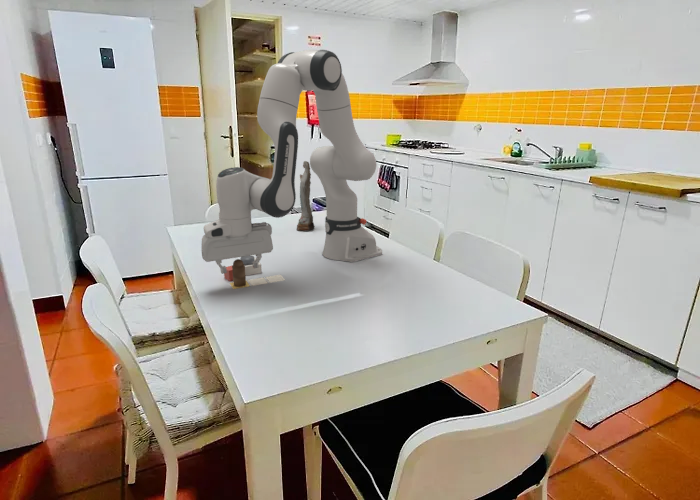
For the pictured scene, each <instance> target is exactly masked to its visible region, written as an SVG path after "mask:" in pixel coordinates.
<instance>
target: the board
mask: <svg viewBox="0 0 700 500" xmlns="http://www.w3.org/2000/svg"><path fill="white" fill-rule="evenodd" d="M277 282H286V279H285V278H284V276H282V274H277V275H270V276H265V277H258V278H251V279H247V280H246V285H245V286H242V287H235V286H234V283H233V281H231V282H229V285H231V288H232V289H233V290H236V289H237V290H238V289H242V288H248V287H253V286H254V287H255V286H259V285H267V284H271V283H277Z"/></svg>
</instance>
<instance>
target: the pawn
mask: <svg viewBox="0 0 700 500" xmlns="http://www.w3.org/2000/svg"><path fill="white" fill-rule="evenodd" d="M232 265H233V266H232ZM232 265H231V266H232V271H233V281H232V282H233V283H234V286H235V287H242V286H245V285H246V281H247V279H246V276H245V265H244V264H243V261H242V260H240V259H239V258H237V259H235V260H234V261H233V263H232Z"/></svg>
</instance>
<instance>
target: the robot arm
mask: <svg viewBox="0 0 700 500" xmlns="http://www.w3.org/2000/svg"><path fill="white" fill-rule="evenodd" d="M303 91H307V92H310V91H313V93H314V96H315V105H316V111H317V119H318V122H319V123H318V124H319V127H320V128H319V129H320V132H321V133H322V135H323V136H324V137H325V139H327V140H328V141H330V143H331V144H332V145H325V146H319V147H316V148H314V150H313V151H312V152H311V155H310V158H309V165H310V169H311V170H312V171H313V173H314V174H315V175H316V176H317V178H318V179H319V180H320V183H321V184H322V185H321V186H322V187H323V191H324V195H325V202H326V203H325V205H326V207H325V209H326V216H325V218H324V220H325V221H324V222H325V223H324V228H325V229H324V230H325V240H324V246H323V250H322V256H323V257H324V258H327V259H329V260H334V261H344V262H350V263H355V262H358V261H362V260H366V259H370V258H373V257H378V256H381V255H383V250H382V249H381V248H380V247H379V246H378V245H377V241H376V238H375V236H374V235H373V234H372V233H371V232H369V231H368V230H367V229H365V227H363V226H364V225H366V224H367V221H368V220H367V219H366V218H363V217H362V218H361V217H359V216H358V196H357V194H356V193H355V192H354V191H353V190H352V189H351V188H350V187H349V184H348V182H347V181H353V182H361V181H368V180H370V179H371V178H372V177H373V176H374V174H375V172H376V170H377V160H376V157H375V155H374V154H373V152H372V151H370V150H369V149H368V148H367V147H366V146H365V145H364V143H363V142H362V141H361V138H360V137H359V135H358V133H357V130H356V129H355V128H356V127H355V125H354V119H353V111H352V105H351V99H350V98H351V97H350V93H349V89H348V85H347V81H346V79H345V76H344V74H343V69H342V64H341V61H340V59H339V57H338V55H336V53H335V52H333V51H330V50H327V49H319V50H318V49H304V50H302V51H295V52H294V51H293V52H288V53H285V54H284V55H282V56H281V57H280V58H279V60H278V62H277V63H274V64H273V65H271V66H270V67H269V68H268V71H267V72H266V76H265V78H264V81H263V84H262V87H261V91H260V95H259V101H258V105H257V109H256V110H257V111H256V112H257V114H256V116H257V117H256V118H257V119H256V120H257V124H258V125H259V127H260V129H261V130H262V131H263V132H264V133H265V134H266V135H267V136H268V137H269V138H270V140H272V142H273V147H274V157H273V158H274V159H273V169H272V176H271V178H267V177H264V176H260V175H257V174H254V173H251V172H249V171H247V170H246V169H245V168H243V167H240V166H237V167H235V166H234V167H227V168H225V169H223V170H221V171H220V172H218V174H217V177H216V201H217V204H218V207H219V213H218V219H216V220H214V221H212V222H210V223H207V224H205V225H204V226H203V232H204V235H203V236H202V238H201V256H202V259H203V261H204V262H206V263H210V262H215V263H216V265H217V266H218V267H219V268H220V274H223V275H224V273H227V271H226V270H227V269H226V267H227V266H225V265H222V263H223V260H230V259H236V258H237V259H238V258H241V257H244V256H255V258H256V259H255V261H253V262H252V264H253V265H252V266H253V268H259V264H258V263H259V262H260V261H261V259H262V255H263V254H269V253H272V251H273V249H274V245H273V239H272V234H273V227H272V225H271V224H270V223H267V222H266V221H262V222H256V223H255V222H254V223H252V211H253V210H256V211H260V212H264V214H267V215H268V216H270V217H272V218H276V219H277V218H278V219H279V218H283V217H285V216H287V215H288V214H290V212H291V211H292V210H293V208H294V206H295V205H296V197H297V196H296V188H295V187H296V186H295V184H296V183H295V181H296V169H297V160H298V148H299V132H298V129H297V114H298V111H299V110H298V109H299V104H300V103H299V102H300V98H301V96H300V95H301V94H302V92H303ZM362 225H363V226H362Z"/></svg>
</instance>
